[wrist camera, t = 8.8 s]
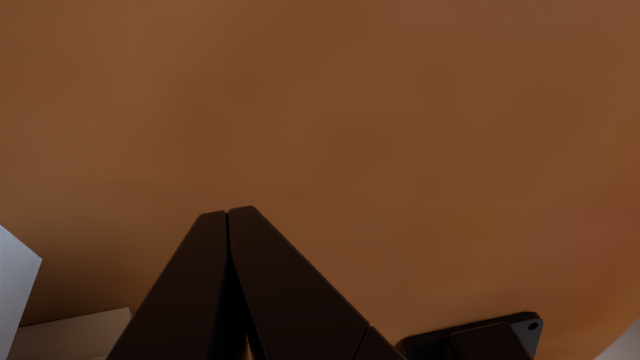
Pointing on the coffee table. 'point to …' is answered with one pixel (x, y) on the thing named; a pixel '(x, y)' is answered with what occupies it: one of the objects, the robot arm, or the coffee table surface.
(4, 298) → the grey stepped block
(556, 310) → the coffee table surface
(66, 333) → the bay
